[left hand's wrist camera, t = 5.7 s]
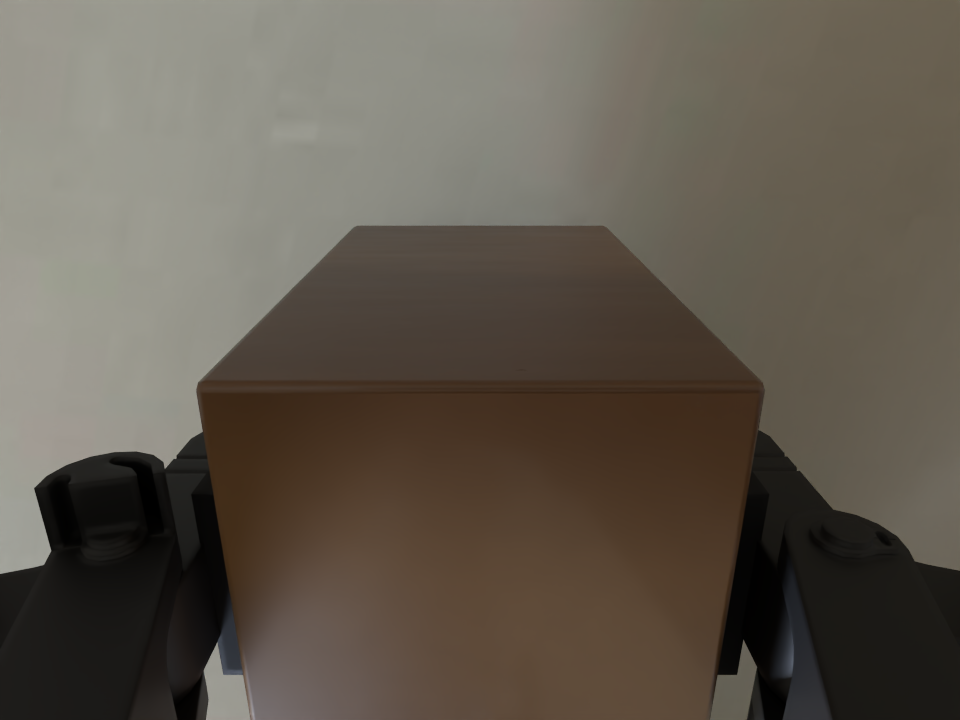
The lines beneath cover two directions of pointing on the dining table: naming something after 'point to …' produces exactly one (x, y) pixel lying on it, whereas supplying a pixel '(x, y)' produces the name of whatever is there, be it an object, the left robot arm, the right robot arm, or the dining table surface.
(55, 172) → the dining table surface
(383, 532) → the bar
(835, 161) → the dining table surface
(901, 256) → the dining table surface
